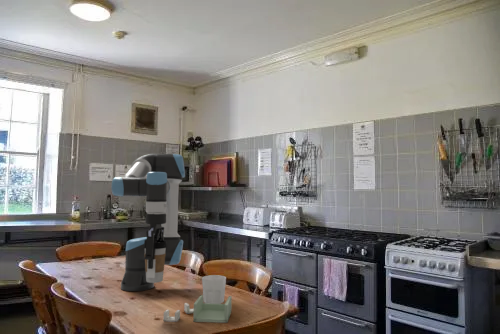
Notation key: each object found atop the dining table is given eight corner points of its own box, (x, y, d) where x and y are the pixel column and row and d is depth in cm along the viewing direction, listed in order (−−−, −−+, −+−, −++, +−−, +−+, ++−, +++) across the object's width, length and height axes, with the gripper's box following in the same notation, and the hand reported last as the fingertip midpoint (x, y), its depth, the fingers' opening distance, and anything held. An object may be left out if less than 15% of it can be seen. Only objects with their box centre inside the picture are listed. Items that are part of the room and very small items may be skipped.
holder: (193, 321, 134) (193, 304, 135) (200, 311, 146) (200, 295, 147) (227, 322, 133) (227, 305, 134) (231, 312, 145) (231, 296, 146)
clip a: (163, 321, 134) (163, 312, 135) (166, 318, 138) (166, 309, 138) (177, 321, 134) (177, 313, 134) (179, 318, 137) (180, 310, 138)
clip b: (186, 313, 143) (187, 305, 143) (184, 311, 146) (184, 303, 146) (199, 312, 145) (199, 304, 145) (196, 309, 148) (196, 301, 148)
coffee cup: (145, 278, 146) (146, 238, 146) (167, 277, 146) (168, 238, 147) (140, 283, 137) (141, 241, 138) (164, 283, 138) (165, 241, 139)
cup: (205, 306, 152) (206, 281, 153) (198, 300, 162) (199, 276, 162) (229, 303, 156) (229, 279, 157) (221, 297, 166) (221, 274, 166)
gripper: (157, 215, 133) (155, 282, 131) (173, 211, 153) (172, 269, 152) (136, 214, 133) (134, 281, 132) (154, 211, 153) (153, 268, 152)
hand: (154, 274), depth 142 cm, fingers closed on coffee cup, 7 cm apart
